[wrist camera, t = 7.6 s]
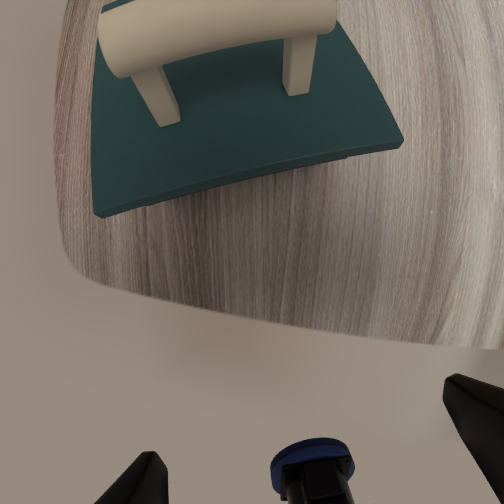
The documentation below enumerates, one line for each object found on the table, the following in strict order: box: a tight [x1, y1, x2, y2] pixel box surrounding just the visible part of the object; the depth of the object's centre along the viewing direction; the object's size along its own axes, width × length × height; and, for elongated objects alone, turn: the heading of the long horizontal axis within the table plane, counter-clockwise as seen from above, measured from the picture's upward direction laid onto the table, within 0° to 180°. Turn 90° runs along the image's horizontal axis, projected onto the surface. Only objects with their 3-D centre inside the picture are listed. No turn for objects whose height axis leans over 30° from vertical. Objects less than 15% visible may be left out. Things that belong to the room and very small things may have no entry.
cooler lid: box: [91, 0, 404, 219], centre depth 8 cm, size 11×10×5 cm
